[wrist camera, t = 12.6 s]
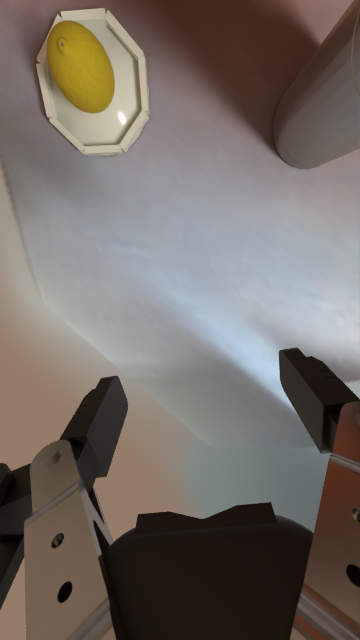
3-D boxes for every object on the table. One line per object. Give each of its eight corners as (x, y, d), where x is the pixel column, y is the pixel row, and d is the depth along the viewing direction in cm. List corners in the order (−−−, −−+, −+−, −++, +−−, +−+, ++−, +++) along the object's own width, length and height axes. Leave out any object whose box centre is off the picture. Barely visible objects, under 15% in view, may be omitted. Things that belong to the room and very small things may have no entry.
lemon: (67, 102, 26) (18, 57, 19) (87, 46, 24) (41, -30, 17) (109, 136, 27) (79, 106, 20) (132, 84, 25) (108, 29, 18)
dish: (85, -10, 23) (77, -28, 21) (170, 91, 26) (168, 83, 24) (30, 100, 26) (20, 92, 25) (110, 178, 29) (105, 176, 28)
